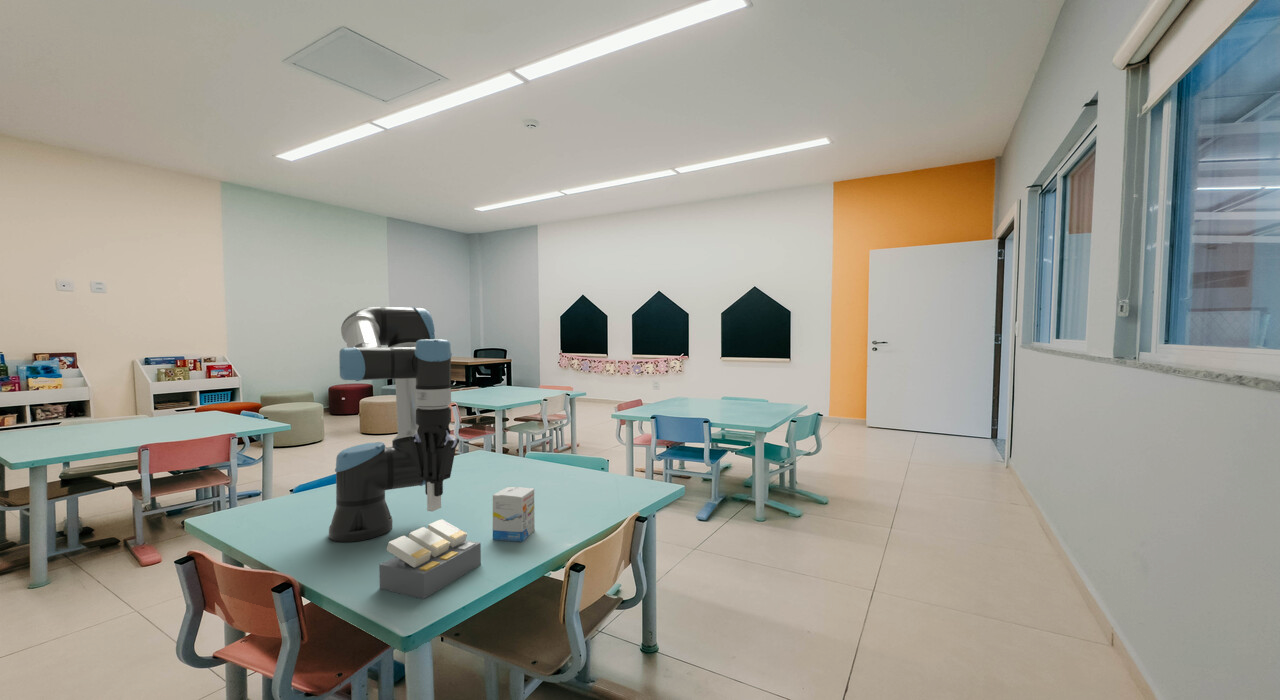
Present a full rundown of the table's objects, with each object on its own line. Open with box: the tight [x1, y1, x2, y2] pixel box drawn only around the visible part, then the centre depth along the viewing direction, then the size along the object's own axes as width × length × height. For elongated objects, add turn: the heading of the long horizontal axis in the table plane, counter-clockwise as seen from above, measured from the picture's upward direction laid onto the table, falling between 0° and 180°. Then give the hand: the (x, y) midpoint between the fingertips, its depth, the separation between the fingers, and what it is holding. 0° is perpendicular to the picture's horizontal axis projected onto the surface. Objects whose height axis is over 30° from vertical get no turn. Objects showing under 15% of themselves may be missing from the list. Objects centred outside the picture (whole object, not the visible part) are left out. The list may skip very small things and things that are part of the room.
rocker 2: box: [407, 526, 450, 557], centre depth 112 cm, size 8×4×2 cm, turn 68°
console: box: [378, 539, 482, 600], centre depth 111 cm, size 12×17×6 cm
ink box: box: [492, 486, 536, 542], centre depth 135 cm, size 9×8×12 cm
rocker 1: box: [386, 535, 431, 568], centre depth 107 cm, size 8×4×2 cm, turn 68°
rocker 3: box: [427, 518, 468, 547], centre depth 117 cm, size 8×4×2 cm, turn 68°
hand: (434, 509), depth 117 cm, fingers closed
